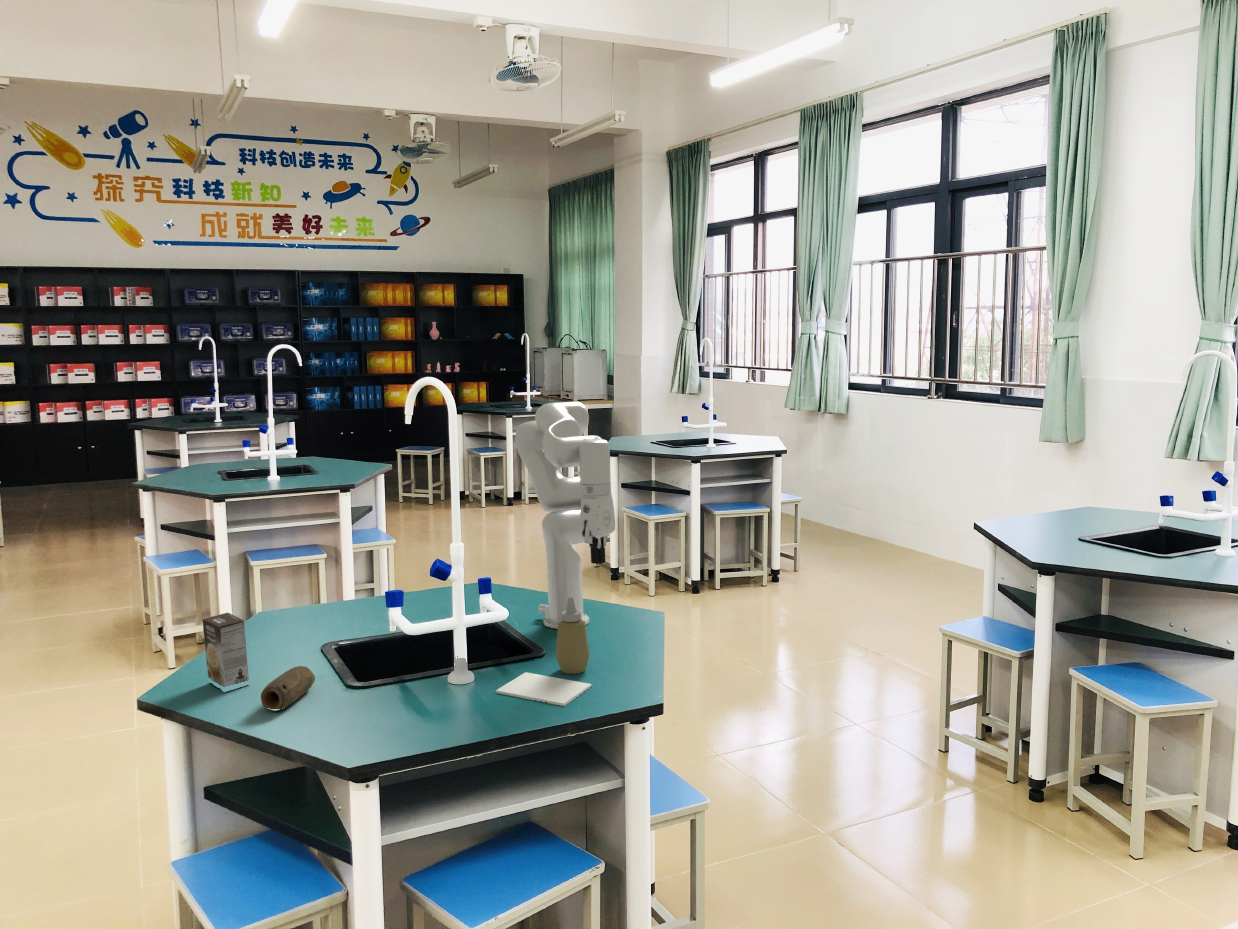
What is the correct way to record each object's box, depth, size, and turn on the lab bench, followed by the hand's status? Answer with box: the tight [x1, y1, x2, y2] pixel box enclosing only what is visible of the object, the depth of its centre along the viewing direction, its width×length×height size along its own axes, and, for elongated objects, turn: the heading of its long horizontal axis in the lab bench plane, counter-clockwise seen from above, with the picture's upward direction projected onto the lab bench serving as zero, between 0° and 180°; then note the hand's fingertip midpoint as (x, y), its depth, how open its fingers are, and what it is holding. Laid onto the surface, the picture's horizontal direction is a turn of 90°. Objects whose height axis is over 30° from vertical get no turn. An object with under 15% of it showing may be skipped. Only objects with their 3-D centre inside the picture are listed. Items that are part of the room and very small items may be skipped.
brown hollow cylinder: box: [260, 665, 316, 710], centre depth 212 cm, size 15×7×7 cm, turn 175°
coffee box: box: [201, 612, 250, 687], centre depth 222 cm, size 9×6×16 cm
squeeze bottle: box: [555, 597, 591, 675], centre depth 224 cm, size 8×8×18 cm
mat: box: [495, 671, 593, 707], centre depth 214 cm, size 18×12×1 cm, turn 62°
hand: (598, 562), depth 233 cm, fingers closed
